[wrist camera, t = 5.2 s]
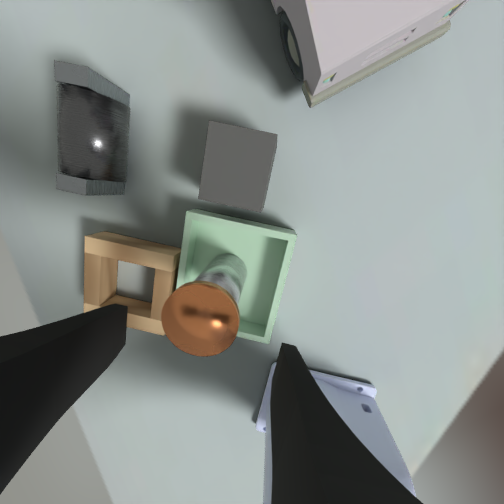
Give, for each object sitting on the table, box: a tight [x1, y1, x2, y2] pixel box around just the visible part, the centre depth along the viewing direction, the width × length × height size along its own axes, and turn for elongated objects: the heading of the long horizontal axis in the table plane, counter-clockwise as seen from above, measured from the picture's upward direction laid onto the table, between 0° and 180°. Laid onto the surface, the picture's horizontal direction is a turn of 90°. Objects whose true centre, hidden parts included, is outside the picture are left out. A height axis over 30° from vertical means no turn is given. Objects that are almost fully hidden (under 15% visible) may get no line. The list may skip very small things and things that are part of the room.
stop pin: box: [161, 253, 247, 356], centre depth 16 cm, size 4×4×8 cm
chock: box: [198, 120, 277, 212], centre depth 16 cm, size 4×4×4 cm
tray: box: [176, 209, 297, 344], centre depth 19 cm, size 8×9×2 cm
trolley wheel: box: [54, 60, 130, 195], centre depth 16 cm, size 4×7×4 cm, turn 168°
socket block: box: [84, 231, 181, 336], centre depth 20 cm, size 7×7×2 cm
